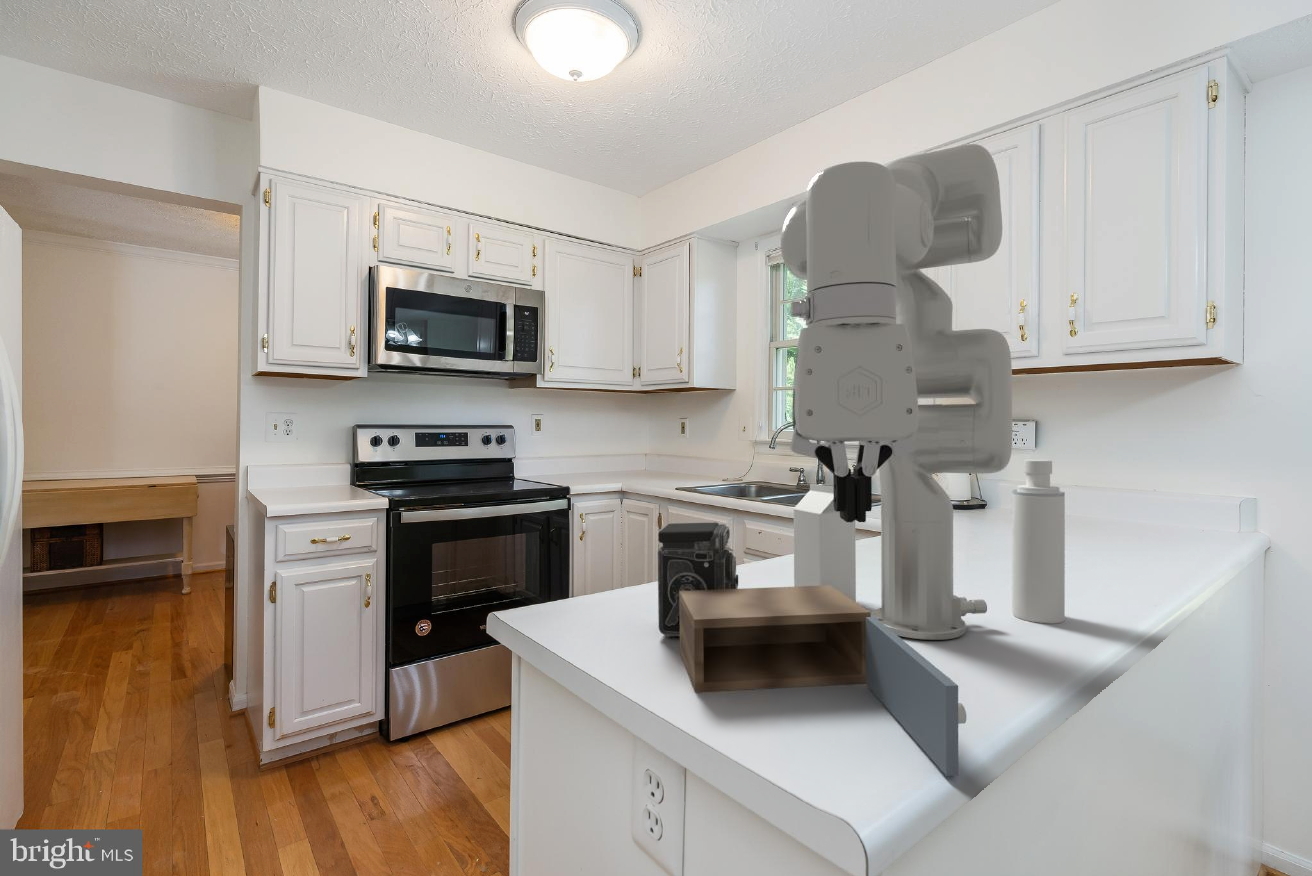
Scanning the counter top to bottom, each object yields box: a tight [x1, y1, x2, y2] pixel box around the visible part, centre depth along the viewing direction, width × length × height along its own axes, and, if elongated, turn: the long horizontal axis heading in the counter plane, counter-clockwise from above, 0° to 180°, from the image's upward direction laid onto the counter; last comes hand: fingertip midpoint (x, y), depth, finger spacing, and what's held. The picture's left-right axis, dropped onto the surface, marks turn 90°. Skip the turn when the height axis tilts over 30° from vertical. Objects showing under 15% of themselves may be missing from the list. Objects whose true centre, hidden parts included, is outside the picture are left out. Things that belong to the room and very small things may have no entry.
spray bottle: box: [1011, 459, 1066, 625], centre depth 94 cm, size 7×7×25 cm
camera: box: [657, 522, 739, 638], centre depth 89 cm, size 10×10×15 cm
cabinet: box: [679, 585, 871, 693], centre depth 76 cm, size 20×12×8 cm, turn 96°
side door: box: [865, 617, 967, 777], centre depth 61 cm, size 18×2×7 cm, turn 1°
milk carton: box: [793, 483, 857, 603], centre depth 104 cm, size 7×7×19 cm
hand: (852, 519), depth 56 cm, fingers closed
